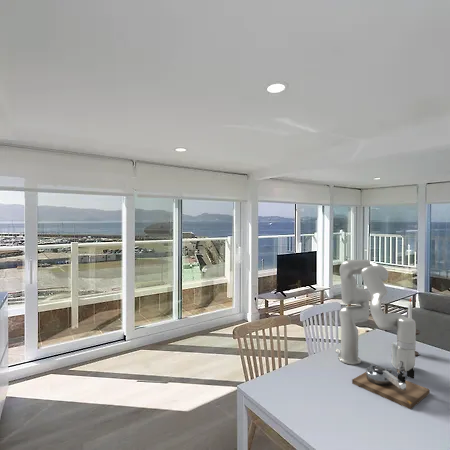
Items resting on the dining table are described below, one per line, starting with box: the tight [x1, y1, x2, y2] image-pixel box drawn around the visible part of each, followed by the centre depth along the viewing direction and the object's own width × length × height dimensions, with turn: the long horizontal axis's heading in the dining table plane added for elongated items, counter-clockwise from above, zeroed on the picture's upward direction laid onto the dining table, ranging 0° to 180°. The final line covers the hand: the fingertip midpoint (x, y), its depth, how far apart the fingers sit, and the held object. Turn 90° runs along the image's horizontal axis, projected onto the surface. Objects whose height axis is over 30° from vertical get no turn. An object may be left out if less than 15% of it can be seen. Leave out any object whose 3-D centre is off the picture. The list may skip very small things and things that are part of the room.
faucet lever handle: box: [365, 363, 406, 391], centre depth 147 cm, size 24×12×7 cm, turn 7°
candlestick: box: [407, 298, 421, 357], centre depth 190 cm, size 11×11×35 cm
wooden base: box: [351, 371, 431, 410], centre depth 149 cm, size 27×21×2 cm
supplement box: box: [390, 341, 404, 370], centre depth 171 cm, size 7×7×13 cm
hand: (406, 380), depth 144 cm, fingers open, 9 cm apart
